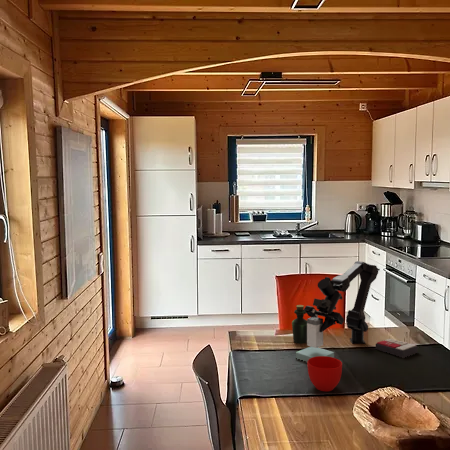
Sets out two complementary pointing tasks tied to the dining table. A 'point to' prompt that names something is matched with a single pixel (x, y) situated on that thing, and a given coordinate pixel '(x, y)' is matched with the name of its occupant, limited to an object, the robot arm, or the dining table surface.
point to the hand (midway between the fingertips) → (315, 330)
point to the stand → (313, 353)
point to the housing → (314, 332)
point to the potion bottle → (299, 326)
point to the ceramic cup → (324, 372)
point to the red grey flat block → (397, 347)
